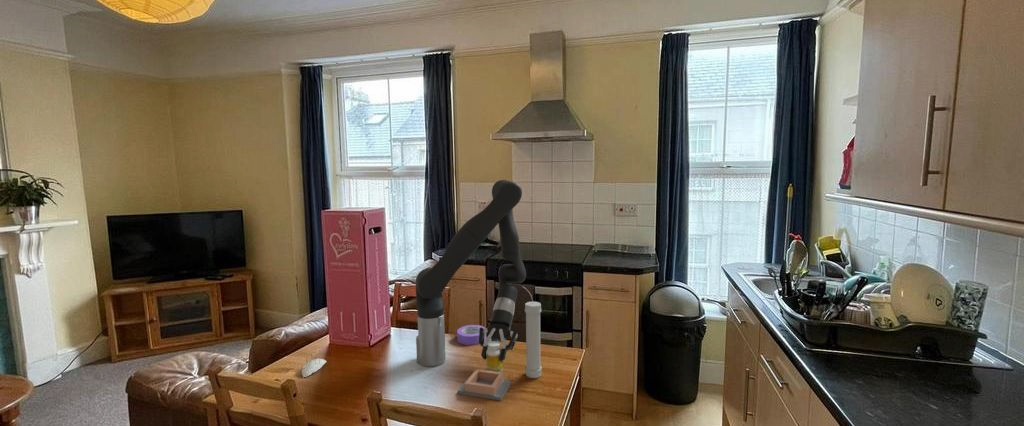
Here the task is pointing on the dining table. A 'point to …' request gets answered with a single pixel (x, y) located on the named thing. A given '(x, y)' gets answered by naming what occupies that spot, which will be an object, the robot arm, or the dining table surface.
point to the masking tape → (469, 334)
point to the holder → (485, 385)
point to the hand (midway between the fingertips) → (492, 359)
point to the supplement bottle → (493, 357)
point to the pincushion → (312, 366)
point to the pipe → (533, 339)
